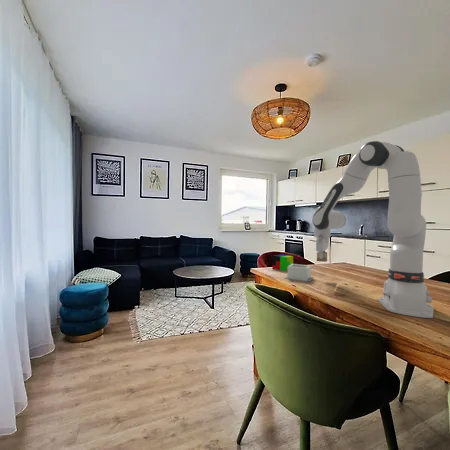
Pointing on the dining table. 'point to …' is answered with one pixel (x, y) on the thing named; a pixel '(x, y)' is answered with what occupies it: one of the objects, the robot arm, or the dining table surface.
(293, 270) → the grey box
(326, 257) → the oak cube
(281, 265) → the puzzle toy
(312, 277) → the tray
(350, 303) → the dining table surface
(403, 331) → the dining table surface
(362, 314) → the dining table surface
